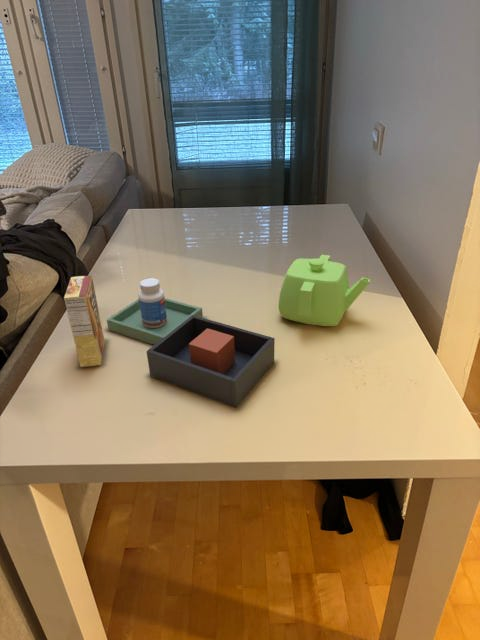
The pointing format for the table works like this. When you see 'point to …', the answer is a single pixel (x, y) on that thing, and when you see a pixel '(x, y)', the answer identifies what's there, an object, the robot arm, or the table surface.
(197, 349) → the block
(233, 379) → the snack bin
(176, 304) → the medicine tray
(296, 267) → the teapot
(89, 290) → the candy box
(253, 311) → the table surface
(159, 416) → the table surface
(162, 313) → the pill bottle
